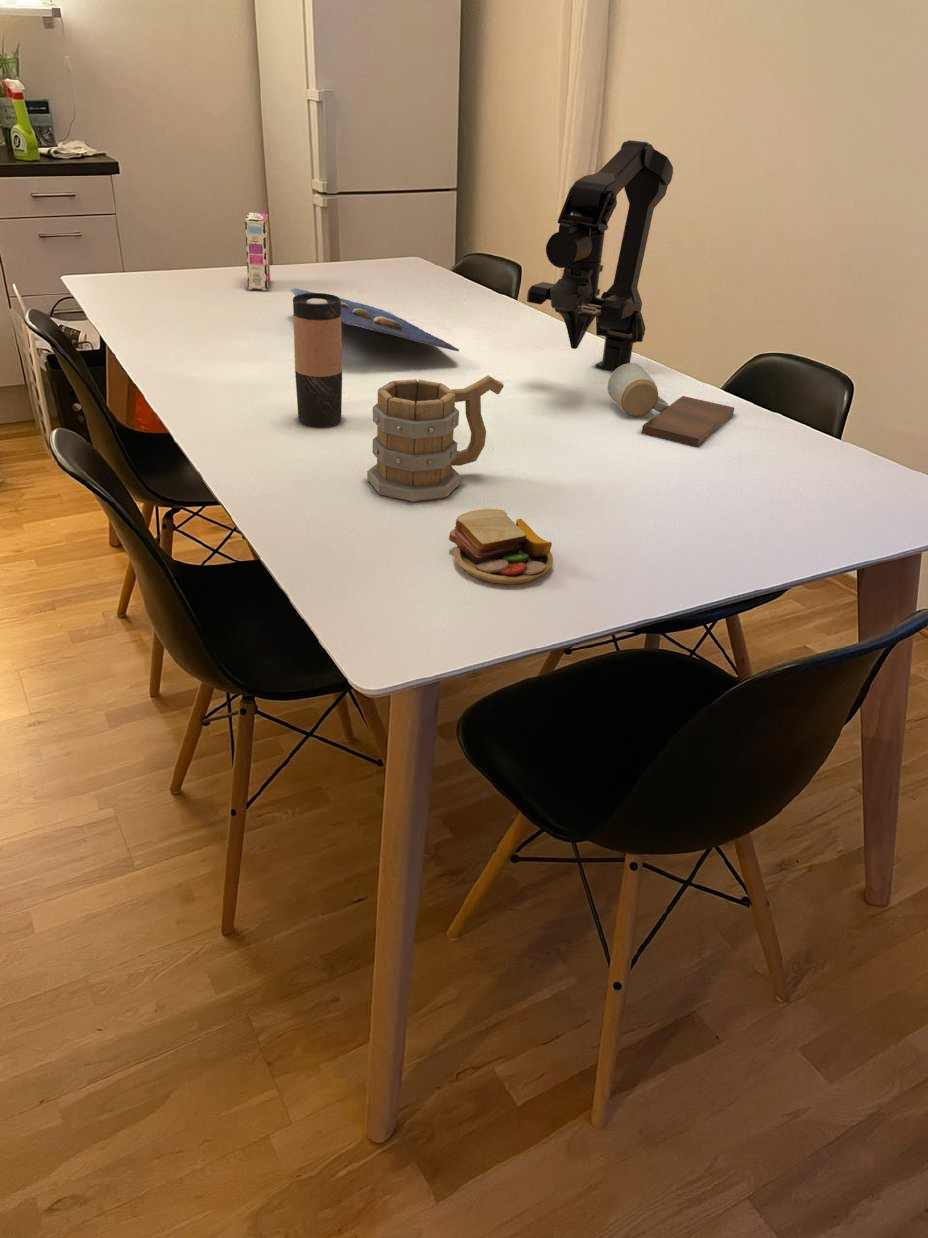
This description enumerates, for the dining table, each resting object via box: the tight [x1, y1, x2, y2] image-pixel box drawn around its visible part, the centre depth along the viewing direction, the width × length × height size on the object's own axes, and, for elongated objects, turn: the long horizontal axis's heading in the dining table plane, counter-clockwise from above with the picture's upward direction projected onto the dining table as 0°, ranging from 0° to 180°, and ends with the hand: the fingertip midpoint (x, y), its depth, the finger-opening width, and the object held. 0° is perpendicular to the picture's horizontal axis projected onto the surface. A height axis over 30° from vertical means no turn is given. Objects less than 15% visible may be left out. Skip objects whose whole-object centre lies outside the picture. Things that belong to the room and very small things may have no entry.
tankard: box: [366, 375, 505, 503], centre depth 138 cm, size 20×13×15 cm, turn 114°
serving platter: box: [289, 287, 460, 352], centre depth 202 cm, size 45×27×12 cm, turn 25°
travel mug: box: [292, 292, 343, 429], centre depth 155 cm, size 8×8×20 cm
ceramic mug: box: [607, 362, 670, 417], centre depth 172 cm, size 11×8×8 cm
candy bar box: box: [244, 212, 271, 292], centre depth 235 cm, size 11×5×16 cm, turn 6°
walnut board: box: [641, 395, 735, 448], centre depth 169 cm, size 20×10×2 cm, turn 149°
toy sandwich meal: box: [448, 508, 554, 585], centre depth 120 cm, size 12×14×5 cm
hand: (574, 348), depth 175 cm, fingers closed
